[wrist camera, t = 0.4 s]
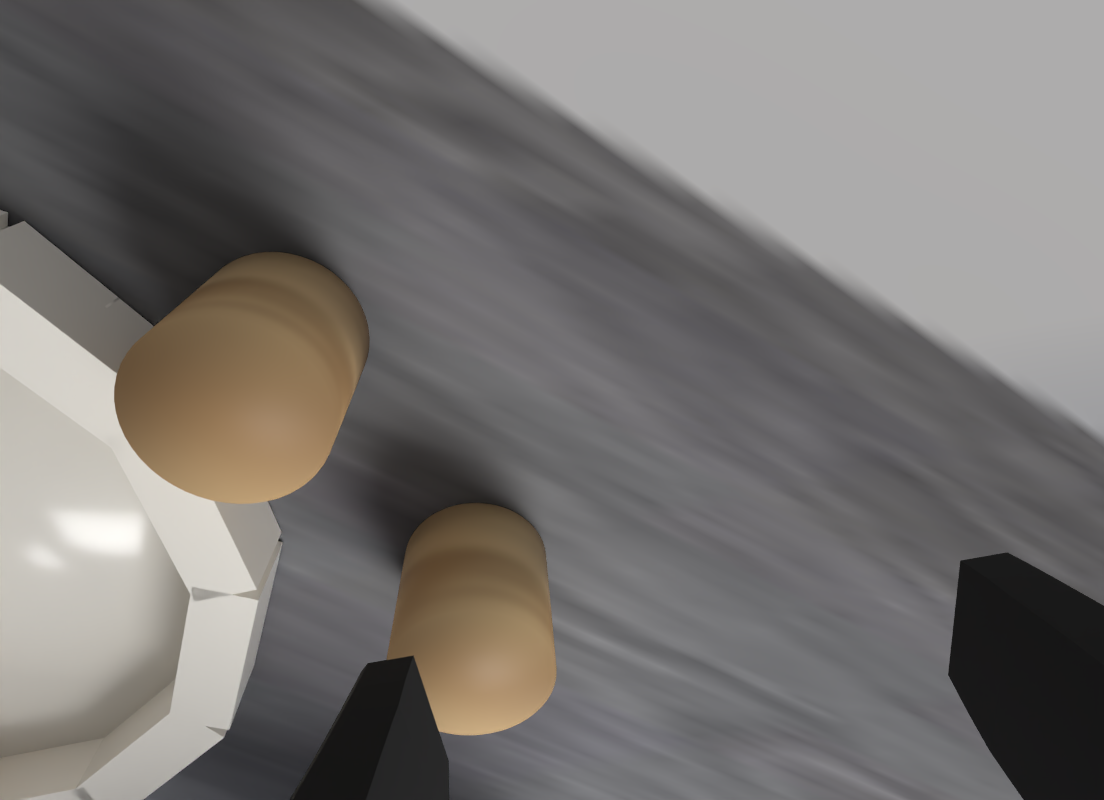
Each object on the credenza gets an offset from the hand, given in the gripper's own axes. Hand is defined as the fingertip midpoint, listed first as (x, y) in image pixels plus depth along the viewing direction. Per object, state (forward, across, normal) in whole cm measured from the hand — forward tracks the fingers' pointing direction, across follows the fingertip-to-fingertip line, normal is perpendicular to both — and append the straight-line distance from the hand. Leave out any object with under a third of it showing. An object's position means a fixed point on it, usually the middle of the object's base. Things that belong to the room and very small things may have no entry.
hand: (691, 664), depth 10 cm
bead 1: (+9, +7, -3) cm, 12 cm away
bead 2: (+9, +4, +5) cm, 11 cm away
